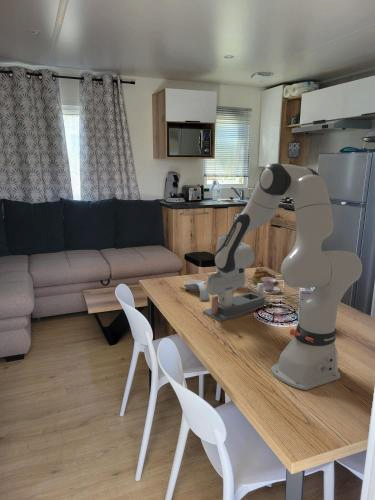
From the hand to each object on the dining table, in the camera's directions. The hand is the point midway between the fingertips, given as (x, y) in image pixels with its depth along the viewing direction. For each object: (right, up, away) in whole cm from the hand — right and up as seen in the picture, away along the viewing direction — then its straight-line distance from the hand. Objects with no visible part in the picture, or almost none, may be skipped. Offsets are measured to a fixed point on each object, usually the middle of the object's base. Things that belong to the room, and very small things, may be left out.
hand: (226, 299), depth 164 cm
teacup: (+26, +1, +30) cm, 40 cm away
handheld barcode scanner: (-12, 0, +27) cm, 30 cm away
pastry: (+26, +4, +44) cm, 51 cm away
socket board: (+6, -5, +6) cm, 10 cm away
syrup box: (+33, -8, -8) cm, 35 cm away
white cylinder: (0, -4, +1) cm, 4 cm away
